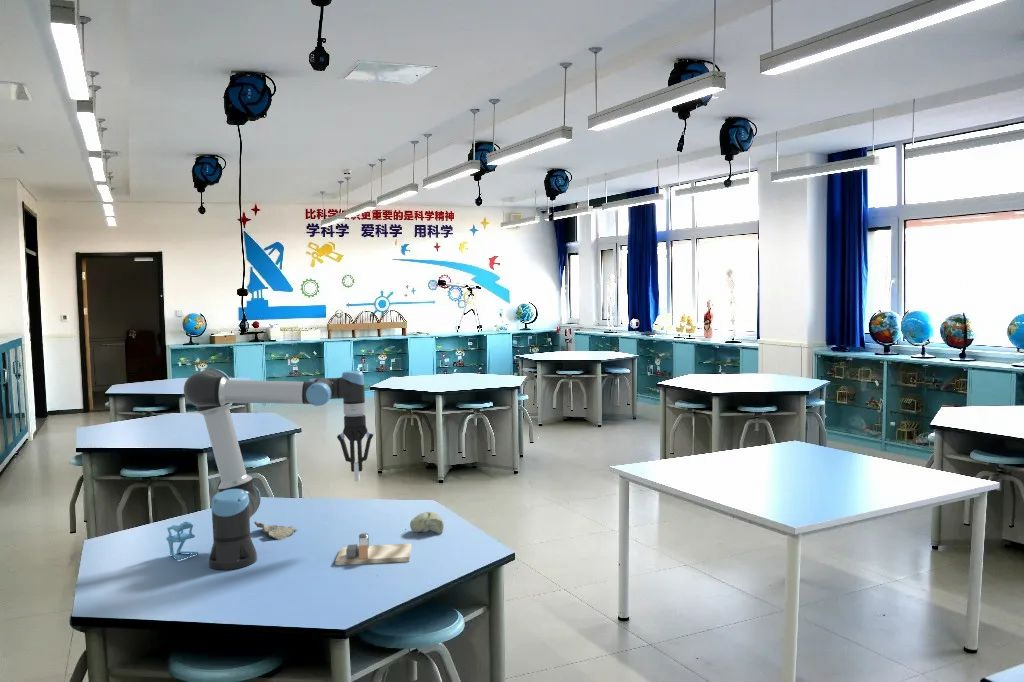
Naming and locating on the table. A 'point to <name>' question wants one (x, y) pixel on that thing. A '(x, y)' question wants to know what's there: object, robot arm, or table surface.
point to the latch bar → (363, 546)
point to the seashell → (427, 523)
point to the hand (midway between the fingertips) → (357, 480)
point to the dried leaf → (276, 530)
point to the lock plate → (377, 554)
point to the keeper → (351, 551)
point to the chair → (180, 539)
